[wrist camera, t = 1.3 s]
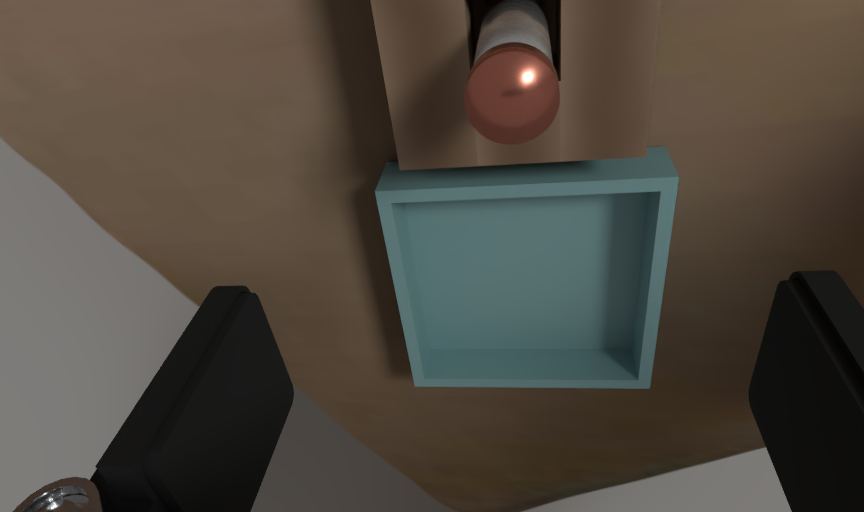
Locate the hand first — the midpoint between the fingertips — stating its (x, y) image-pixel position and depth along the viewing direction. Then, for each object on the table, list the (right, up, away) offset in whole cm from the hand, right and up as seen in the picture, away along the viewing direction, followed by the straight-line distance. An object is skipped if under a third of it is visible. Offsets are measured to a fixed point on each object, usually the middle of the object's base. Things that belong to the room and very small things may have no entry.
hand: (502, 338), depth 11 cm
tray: (+5, +1, +28) cm, 28 cm away
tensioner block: (+3, +14, +18) cm, 23 cm away
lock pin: (+3, +13, +18) cm, 22 cm away
